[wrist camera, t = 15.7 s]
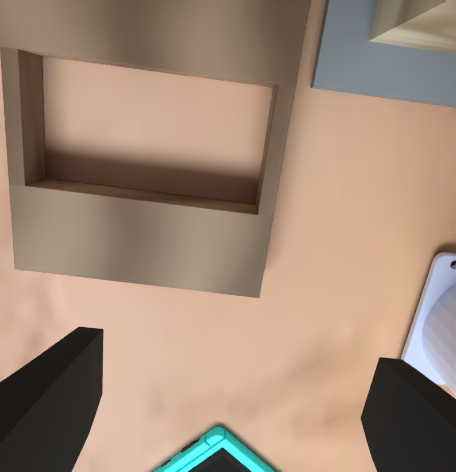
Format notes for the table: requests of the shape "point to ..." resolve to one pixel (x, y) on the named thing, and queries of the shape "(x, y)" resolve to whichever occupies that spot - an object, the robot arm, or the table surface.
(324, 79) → the slate mat
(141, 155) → the table surface
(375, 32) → the birch block
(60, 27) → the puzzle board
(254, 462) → the handheld game console
